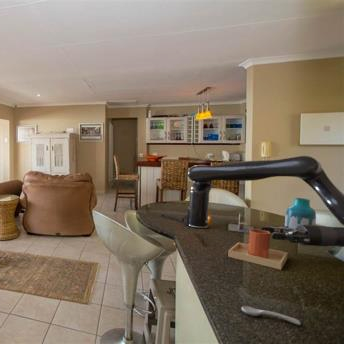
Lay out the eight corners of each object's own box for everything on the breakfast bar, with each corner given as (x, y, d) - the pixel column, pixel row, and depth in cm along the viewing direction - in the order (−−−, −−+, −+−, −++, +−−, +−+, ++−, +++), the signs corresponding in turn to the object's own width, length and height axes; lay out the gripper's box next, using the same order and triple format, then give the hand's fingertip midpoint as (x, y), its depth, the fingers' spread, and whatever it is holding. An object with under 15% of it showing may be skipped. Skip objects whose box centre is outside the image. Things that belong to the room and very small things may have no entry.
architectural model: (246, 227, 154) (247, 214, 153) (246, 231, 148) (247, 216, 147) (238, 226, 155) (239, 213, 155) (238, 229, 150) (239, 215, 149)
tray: (228, 256, 113) (228, 250, 113) (237, 248, 123) (238, 242, 123) (281, 269, 102) (281, 262, 101) (287, 259, 111) (287, 252, 111)
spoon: (239, 308, 77) (241, 301, 76) (296, 323, 72) (298, 316, 72) (242, 314, 74) (243, 307, 74) (301, 330, 69) (302, 322, 69)
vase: (306, 237, 138) (310, 197, 137) (319, 244, 129) (323, 201, 127) (279, 234, 142) (282, 196, 140) (289, 241, 132) (293, 200, 130)
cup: (245, 256, 112) (247, 231, 111) (249, 252, 117) (251, 228, 116) (266, 261, 108) (268, 234, 107) (269, 256, 112) (271, 231, 111)
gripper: (303, 220, 114) (257, 218, 117) (331, 231, 100) (277, 228, 104) (302, 239, 115) (256, 236, 118) (329, 252, 101) (276, 248, 104)
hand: (266, 232), depth 111 cm, fingers open, 8 cm apart
